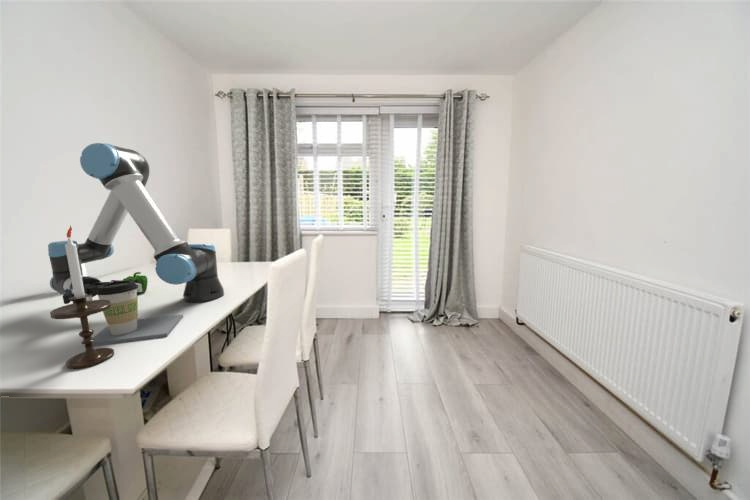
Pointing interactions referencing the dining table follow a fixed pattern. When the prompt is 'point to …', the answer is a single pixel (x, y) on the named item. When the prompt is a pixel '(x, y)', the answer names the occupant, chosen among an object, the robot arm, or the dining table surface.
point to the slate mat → (140, 330)
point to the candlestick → (82, 314)
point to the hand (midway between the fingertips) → (117, 293)
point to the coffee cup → (120, 305)
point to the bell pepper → (139, 281)
